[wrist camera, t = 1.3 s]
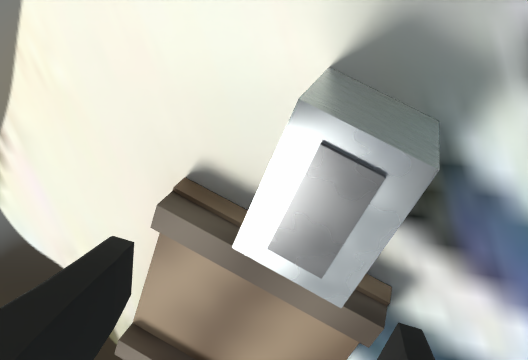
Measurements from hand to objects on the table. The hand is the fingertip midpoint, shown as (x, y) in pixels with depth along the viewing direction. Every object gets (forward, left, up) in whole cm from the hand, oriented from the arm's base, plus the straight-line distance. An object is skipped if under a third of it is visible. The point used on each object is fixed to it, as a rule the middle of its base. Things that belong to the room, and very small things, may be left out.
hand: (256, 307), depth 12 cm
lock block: (-1, 0, -10) cm, 10 cm away
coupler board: (0, +11, -10) cm, 15 cm away
